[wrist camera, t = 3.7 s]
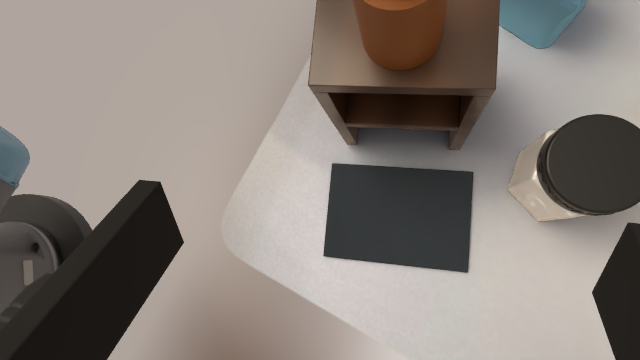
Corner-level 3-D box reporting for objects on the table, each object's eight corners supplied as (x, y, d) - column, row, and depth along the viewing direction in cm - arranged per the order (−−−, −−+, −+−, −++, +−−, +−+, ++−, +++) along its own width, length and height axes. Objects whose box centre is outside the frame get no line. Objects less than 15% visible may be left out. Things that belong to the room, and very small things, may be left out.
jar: (490, 176, 46) (518, 156, 34) (548, 127, 45) (596, 89, 34) (552, 238, 44) (604, 239, 32) (613, 188, 43) (689, 170, 31)
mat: (324, 256, 48) (323, 256, 48) (332, 164, 50) (332, 163, 49) (467, 271, 45) (467, 272, 44) (472, 172, 46) (473, 171, 46)
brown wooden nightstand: (346, 144, 50) (307, 85, 30) (354, 65, 51) (320, -41, 31) (459, 150, 47) (496, 89, 27) (464, 66, 48) (502, -50, 29)
